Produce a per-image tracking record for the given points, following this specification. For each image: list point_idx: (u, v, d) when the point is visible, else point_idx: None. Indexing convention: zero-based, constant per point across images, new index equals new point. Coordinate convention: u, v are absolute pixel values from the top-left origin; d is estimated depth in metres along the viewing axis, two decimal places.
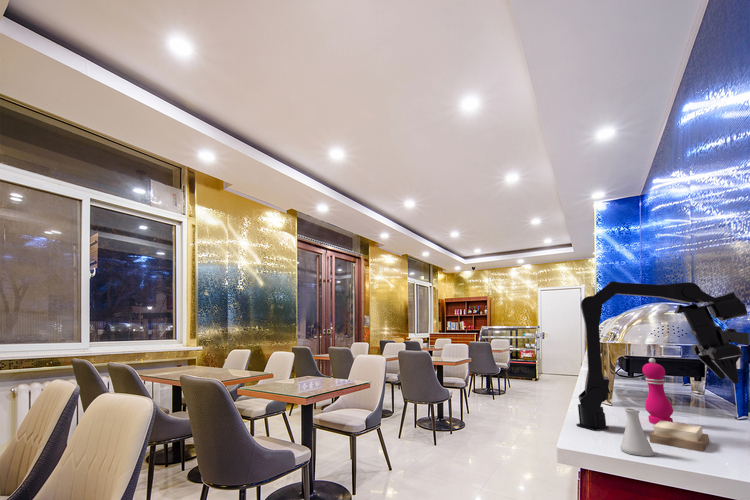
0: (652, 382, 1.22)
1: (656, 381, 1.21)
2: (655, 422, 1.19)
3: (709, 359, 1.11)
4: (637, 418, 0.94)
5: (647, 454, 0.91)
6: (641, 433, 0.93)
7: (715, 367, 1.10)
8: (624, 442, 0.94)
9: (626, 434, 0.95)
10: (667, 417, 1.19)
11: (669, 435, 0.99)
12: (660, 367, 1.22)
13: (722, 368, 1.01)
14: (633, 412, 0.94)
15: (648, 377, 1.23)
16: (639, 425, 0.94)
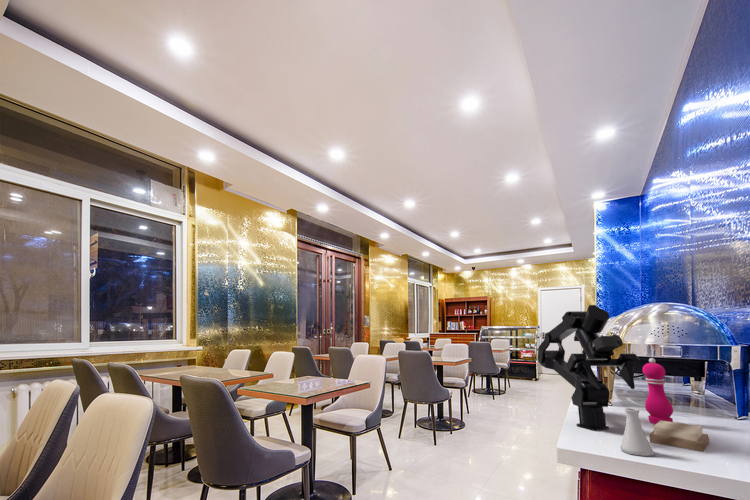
0: (652, 382, 1.22)
1: (656, 381, 1.21)
2: (655, 422, 1.19)
3: (623, 372, 1.09)
4: (637, 418, 0.94)
5: (647, 454, 0.91)
6: (641, 433, 0.93)
7: (626, 379, 1.07)
8: (624, 442, 0.94)
9: (626, 434, 0.95)
10: (667, 417, 1.19)
11: (669, 435, 0.99)
12: (660, 367, 1.22)
13: (585, 378, 1.09)
14: (633, 412, 0.94)
15: (648, 377, 1.23)
16: (639, 425, 0.94)
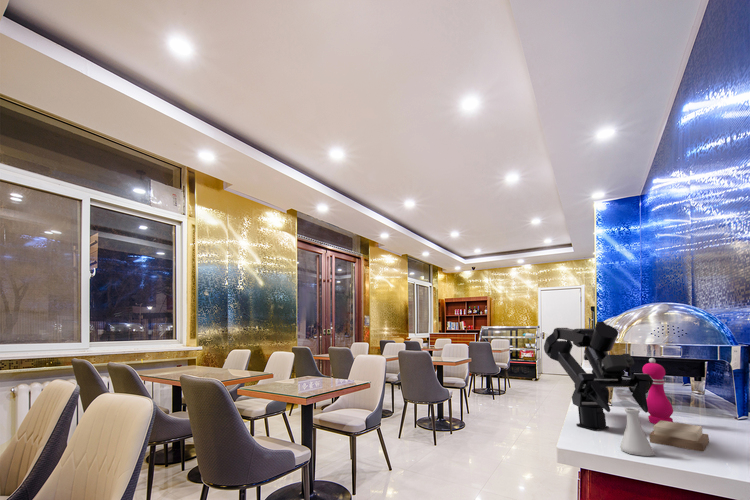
0: None
1: (656, 381, 1.21)
2: (655, 422, 1.19)
3: (635, 394, 1.02)
4: (637, 418, 0.94)
5: (647, 454, 0.91)
6: (641, 433, 0.93)
7: (639, 401, 1.00)
8: (624, 442, 0.94)
9: (626, 434, 0.95)
10: (667, 417, 1.19)
11: (669, 435, 0.99)
12: (660, 367, 1.22)
13: (594, 400, 1.02)
14: (633, 412, 0.94)
15: None
16: (639, 425, 0.94)
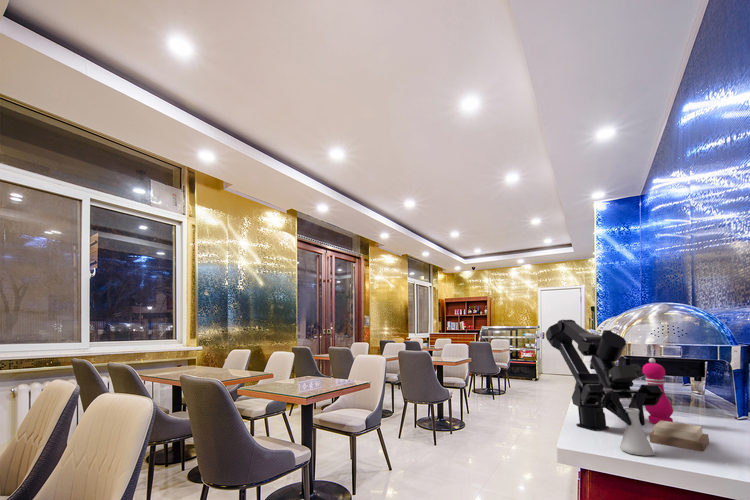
0: (652, 382, 1.22)
1: (656, 381, 1.21)
2: (655, 422, 1.19)
3: (632, 406, 0.99)
4: (637, 418, 0.94)
5: (647, 454, 0.91)
6: (641, 432, 0.93)
7: None
8: (624, 442, 0.94)
9: (626, 434, 0.95)
10: (667, 417, 1.19)
11: (669, 435, 0.99)
12: (660, 367, 1.22)
13: (613, 412, 0.99)
14: (633, 412, 0.94)
15: (648, 377, 1.23)
16: (639, 425, 0.94)
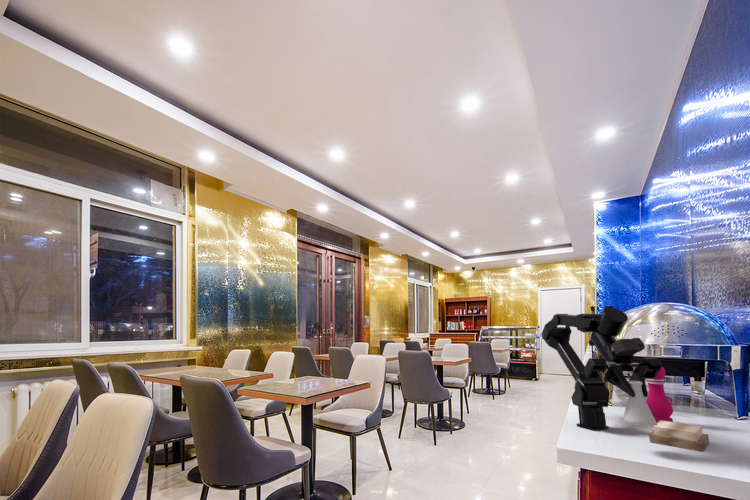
0: (652, 382, 1.22)
1: (656, 381, 1.21)
2: None
3: (633, 379, 1.00)
4: (640, 390, 0.96)
5: (650, 424, 0.92)
6: (644, 404, 0.95)
7: None
8: (627, 413, 0.96)
9: (629, 406, 0.96)
10: (667, 417, 1.19)
11: (669, 435, 0.99)
12: None
13: (616, 385, 1.00)
14: (636, 384, 0.96)
15: None
16: (642, 396, 0.95)
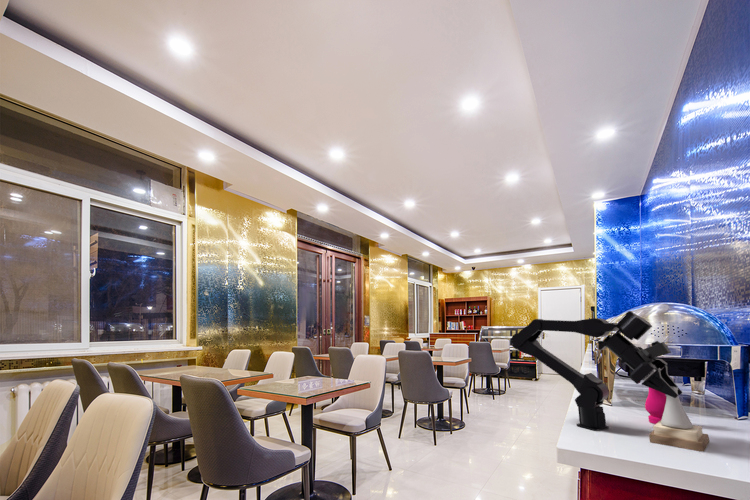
0: None
1: None
2: (655, 422, 1.19)
3: None
4: None
5: (692, 426, 1.00)
6: None
7: (668, 385, 1.07)
8: (673, 419, 1.01)
9: (673, 411, 1.01)
10: None
11: (669, 435, 0.99)
12: None
13: (654, 388, 1.03)
14: (677, 389, 1.03)
15: None
16: (679, 400, 1.03)
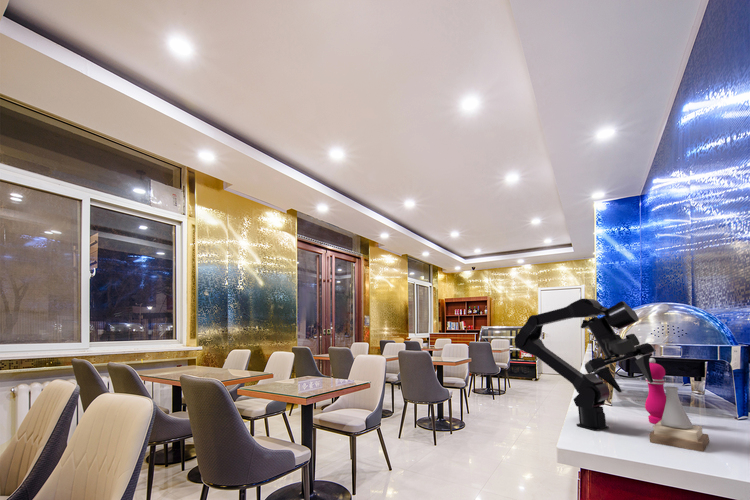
0: None
1: (656, 381, 1.21)
2: (655, 422, 1.19)
3: (639, 363, 1.12)
4: (677, 394, 1.03)
5: (692, 426, 1.00)
6: None
7: (644, 371, 1.10)
8: (673, 419, 1.01)
9: (673, 411, 1.01)
10: None
11: (669, 435, 0.99)
12: (660, 367, 1.22)
13: (604, 379, 1.12)
14: (677, 389, 1.03)
15: None
16: (679, 400, 1.03)
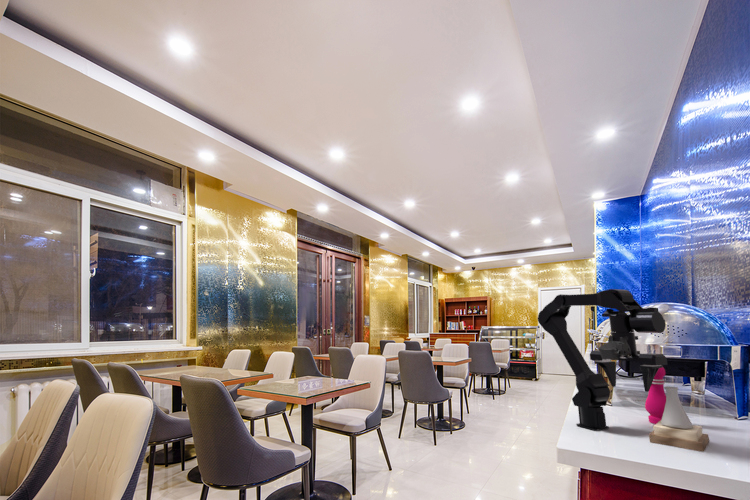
0: (652, 382, 1.22)
1: (656, 381, 1.21)
2: (655, 422, 1.19)
3: None
4: None
5: (692, 426, 1.00)
6: None
7: None
8: (673, 419, 1.01)
9: (673, 411, 1.01)
10: None
11: (669, 435, 0.99)
12: None
13: None
14: (677, 389, 1.03)
15: None
16: (679, 400, 1.03)
